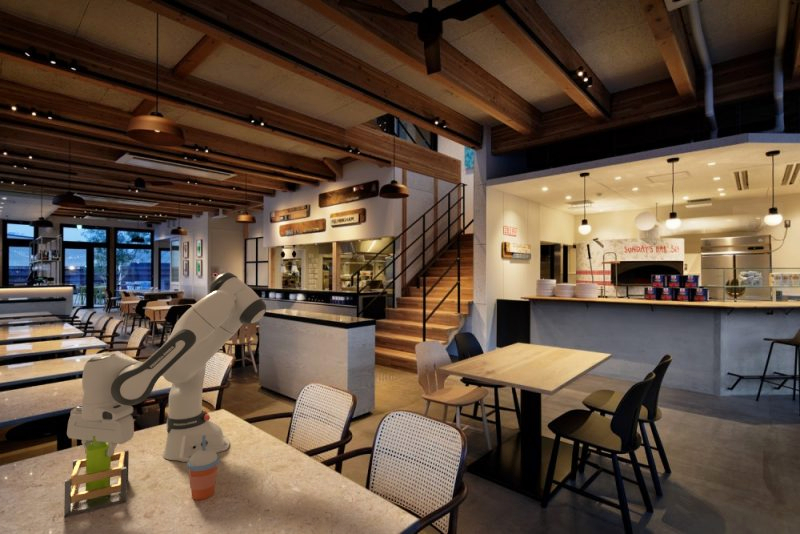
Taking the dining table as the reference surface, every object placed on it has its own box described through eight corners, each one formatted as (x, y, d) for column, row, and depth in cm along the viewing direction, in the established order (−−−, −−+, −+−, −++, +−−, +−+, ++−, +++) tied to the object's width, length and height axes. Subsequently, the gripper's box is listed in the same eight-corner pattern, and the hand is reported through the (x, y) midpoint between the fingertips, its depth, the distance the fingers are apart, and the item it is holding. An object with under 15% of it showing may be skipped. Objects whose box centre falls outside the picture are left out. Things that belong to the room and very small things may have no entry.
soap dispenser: (102, 494, 116) (103, 427, 116) (80, 493, 117) (81, 425, 116) (118, 483, 122) (119, 419, 122) (97, 482, 122) (98, 418, 122)
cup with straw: (185, 506, 115) (186, 445, 115) (186, 490, 124) (187, 433, 123) (220, 498, 120) (221, 439, 120) (218, 483, 128) (219, 427, 128)
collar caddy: (128, 479, 129) (128, 449, 129) (125, 502, 117) (126, 468, 117) (73, 492, 121) (73, 459, 121) (64, 517, 110) (64, 481, 110)
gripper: (60, 409, 118) (60, 455, 118) (120, 415, 114) (119, 463, 114) (81, 402, 124) (80, 446, 124) (138, 407, 121) (137, 452, 121)
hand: (99, 454), depth 119 cm, fingers closed on soap dispenser, 6 cm apart
